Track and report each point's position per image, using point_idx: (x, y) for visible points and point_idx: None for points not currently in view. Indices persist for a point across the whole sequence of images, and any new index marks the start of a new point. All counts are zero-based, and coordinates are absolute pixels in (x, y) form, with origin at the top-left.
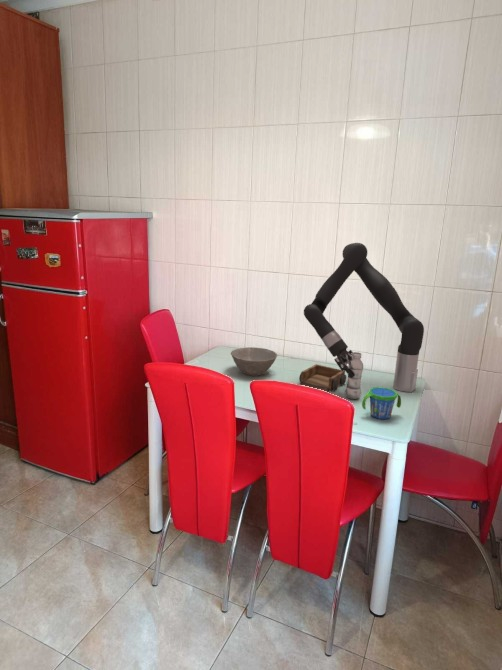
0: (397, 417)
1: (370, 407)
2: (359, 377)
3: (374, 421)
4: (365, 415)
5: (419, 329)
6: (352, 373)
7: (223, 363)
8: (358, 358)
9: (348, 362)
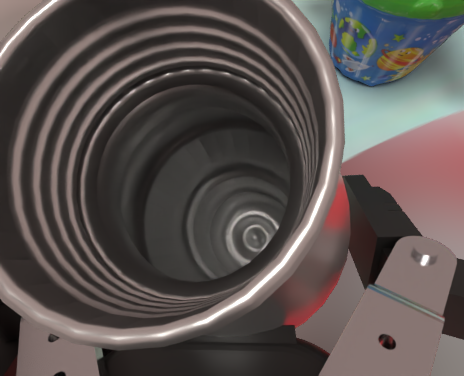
0: (328, 3)
1: (427, 56)
2: (262, 170)
3: (451, 42)
4: (421, 96)
5: None
6: (371, 196)
7: None
8: (270, 82)
9: (396, 299)
